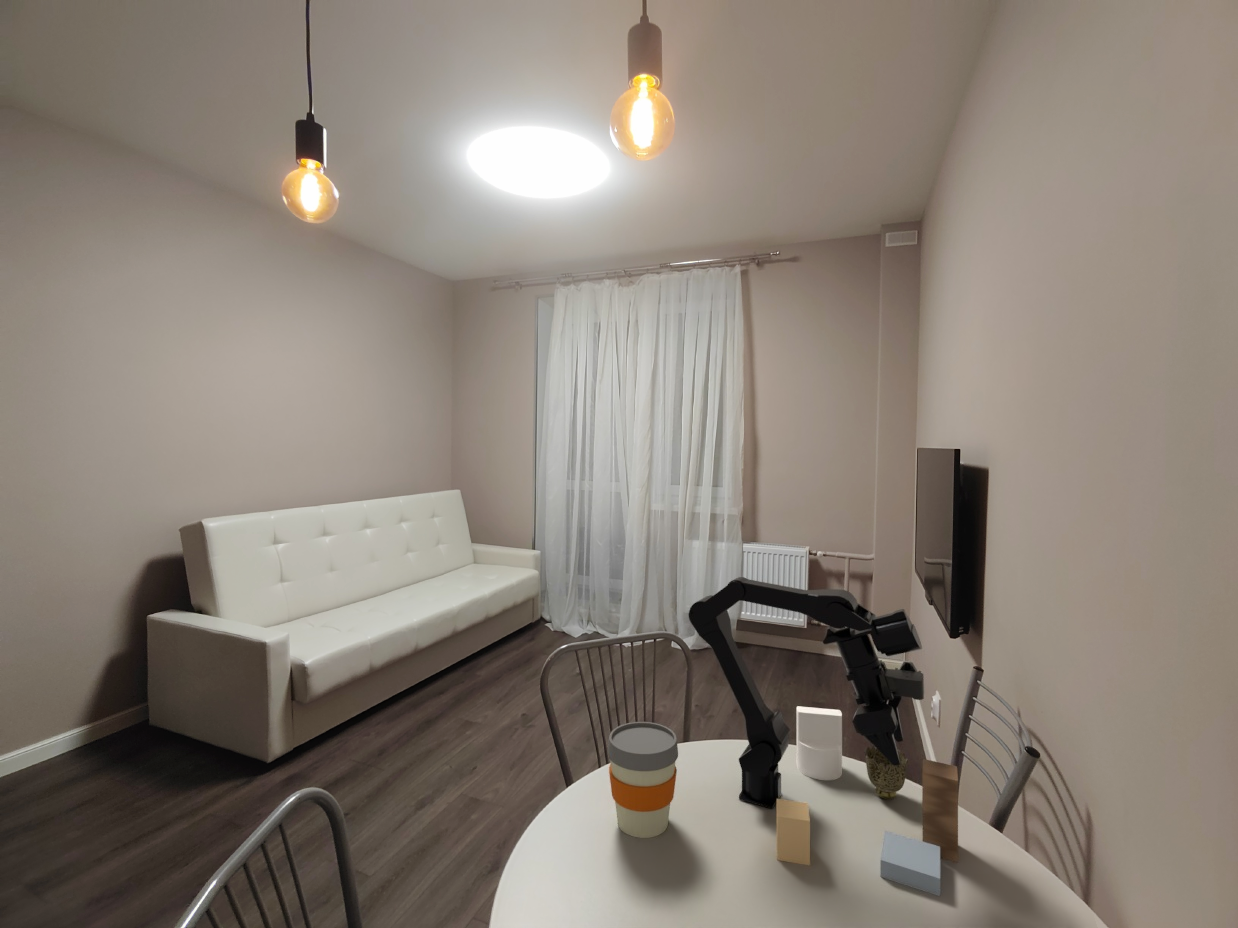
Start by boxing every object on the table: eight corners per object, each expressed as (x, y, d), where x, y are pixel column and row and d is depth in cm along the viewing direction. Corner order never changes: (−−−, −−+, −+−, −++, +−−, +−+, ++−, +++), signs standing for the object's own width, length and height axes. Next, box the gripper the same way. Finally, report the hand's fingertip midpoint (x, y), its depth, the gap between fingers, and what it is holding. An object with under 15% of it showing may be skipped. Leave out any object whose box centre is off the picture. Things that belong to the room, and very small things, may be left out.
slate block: (880, 878, 87) (880, 859, 87) (884, 848, 94) (884, 830, 94) (940, 898, 83) (940, 878, 83) (940, 865, 90) (940, 846, 90)
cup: (912, 809, 104) (912, 765, 104) (869, 804, 106) (869, 761, 106) (901, 787, 111) (901, 746, 112) (861, 782, 113) (861, 742, 113)
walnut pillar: (922, 851, 93) (922, 772, 93) (923, 834, 97) (923, 758, 97) (958, 862, 90) (957, 780, 90) (957, 844, 95) (957, 766, 95)
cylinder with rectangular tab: (798, 777, 115) (798, 718, 115) (794, 755, 124) (794, 700, 124) (845, 782, 113) (845, 722, 113) (838, 759, 122) (838, 704, 122)
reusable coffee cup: (593, 819, 101) (593, 735, 101) (644, 792, 110) (644, 714, 110) (641, 855, 92) (641, 762, 92) (693, 823, 100) (693, 738, 100)
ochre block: (777, 859, 91) (777, 816, 91) (776, 839, 96) (776, 798, 96) (809, 865, 90) (809, 820, 90) (807, 844, 95) (807, 802, 95)
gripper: (906, 668, 88) (950, 771, 85) (911, 637, 104) (948, 722, 101) (835, 683, 93) (875, 781, 90) (851, 650, 109) (884, 733, 106)
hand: (898, 752), depth 97 cm, fingers open, 9 cm apart
